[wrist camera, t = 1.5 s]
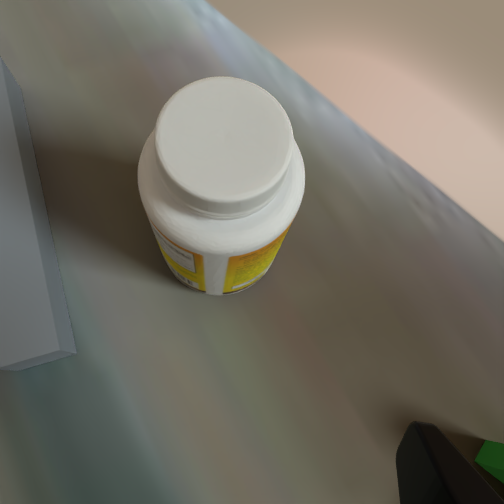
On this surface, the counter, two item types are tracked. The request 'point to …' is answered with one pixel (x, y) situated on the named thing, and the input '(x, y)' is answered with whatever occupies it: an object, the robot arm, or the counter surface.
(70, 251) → the counter surface
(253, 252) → the supplement bottle
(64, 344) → the housing cradle
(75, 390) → the counter surface
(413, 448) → the robot arm
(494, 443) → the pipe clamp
